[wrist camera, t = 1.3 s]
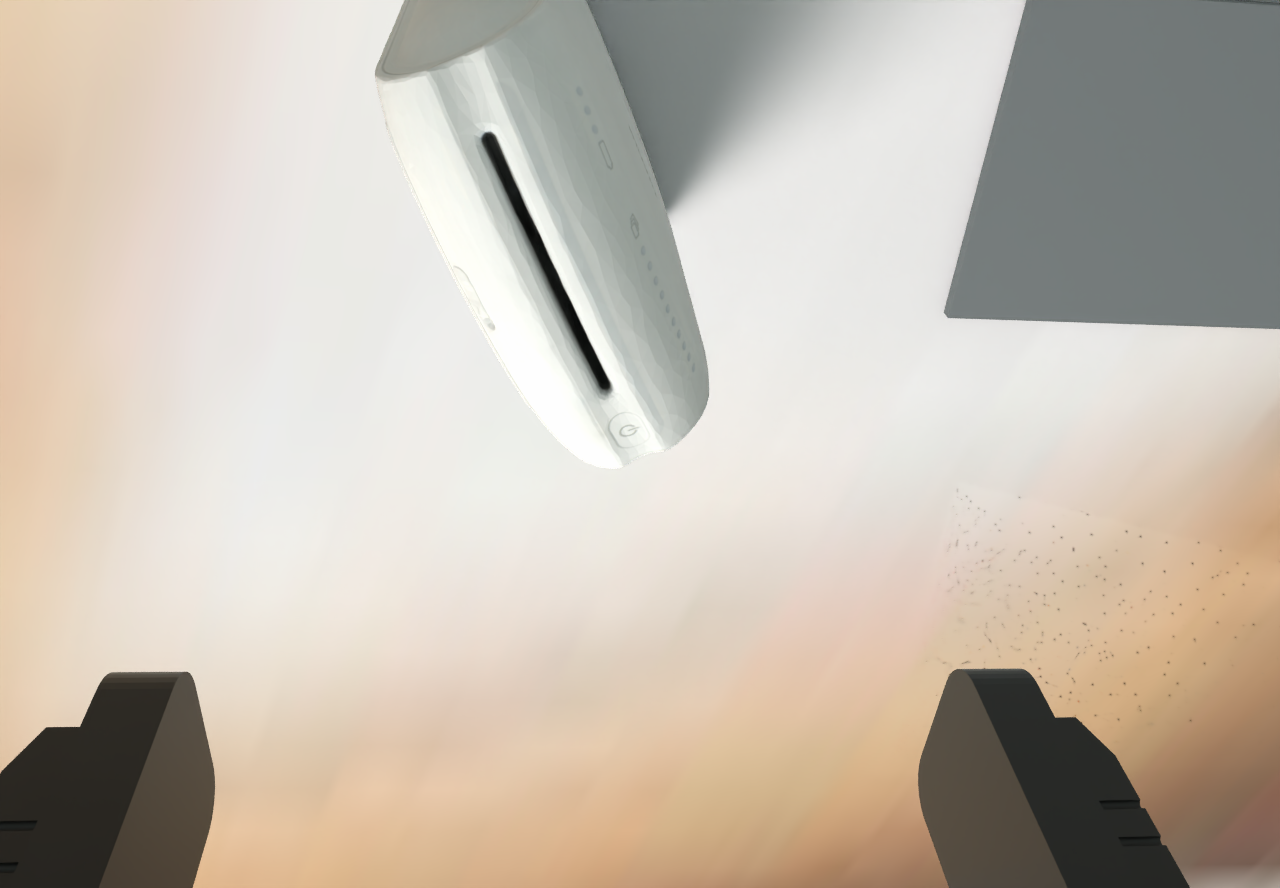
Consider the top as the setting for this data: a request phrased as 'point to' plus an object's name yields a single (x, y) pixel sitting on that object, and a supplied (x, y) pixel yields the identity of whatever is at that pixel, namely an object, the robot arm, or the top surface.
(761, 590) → the top surface
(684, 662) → the top surface
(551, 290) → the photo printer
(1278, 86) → the slate pad
